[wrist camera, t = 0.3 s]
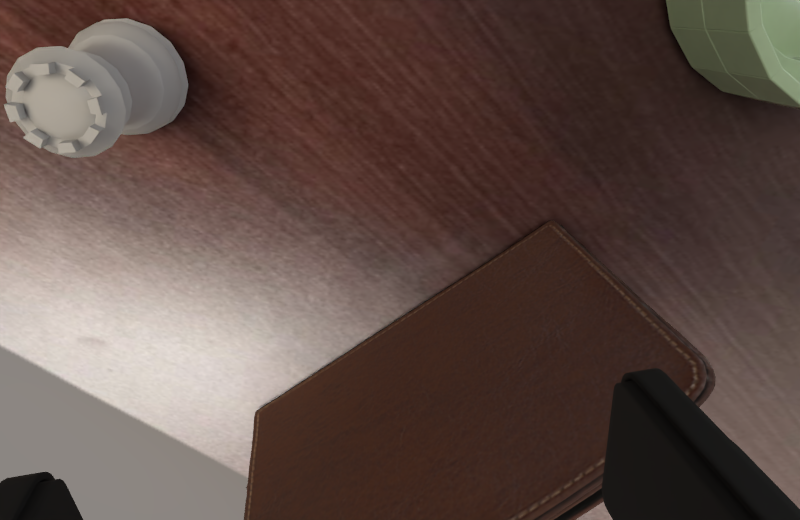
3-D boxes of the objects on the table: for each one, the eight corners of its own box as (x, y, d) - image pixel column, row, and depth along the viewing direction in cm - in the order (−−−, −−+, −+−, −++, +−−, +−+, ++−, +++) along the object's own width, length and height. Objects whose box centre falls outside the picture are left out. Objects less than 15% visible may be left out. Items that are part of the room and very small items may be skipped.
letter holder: (252, 409, 31) (214, 692, 18) (552, 213, 28) (748, 381, 16) (353, 501, 35) (380, 781, 22) (621, 338, 33) (818, 548, 20)
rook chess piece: (50, 65, 22) (-75, 96, 15) (129, -8, 21) (38, -14, 14) (138, 151, 24) (65, 213, 17) (213, 85, 23) (171, 122, 16)
